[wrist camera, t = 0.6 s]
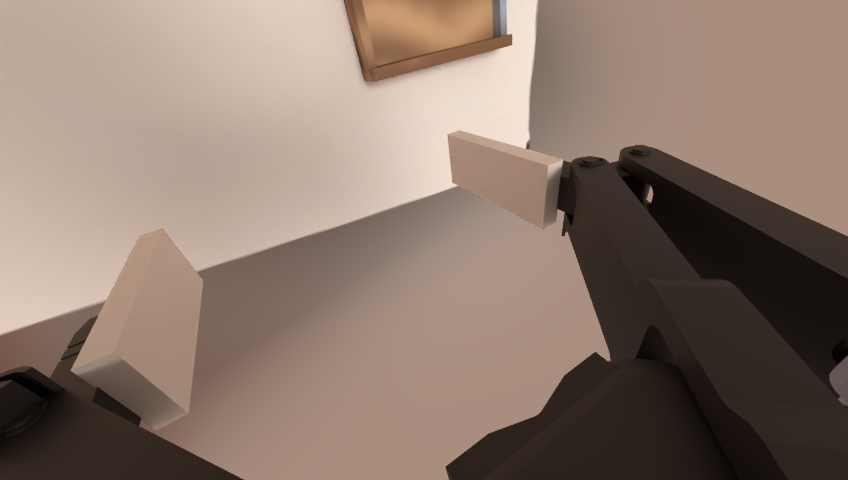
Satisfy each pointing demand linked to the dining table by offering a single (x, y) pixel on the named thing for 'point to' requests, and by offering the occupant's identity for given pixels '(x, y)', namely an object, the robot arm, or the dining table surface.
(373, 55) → the frame
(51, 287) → the dining table surface
